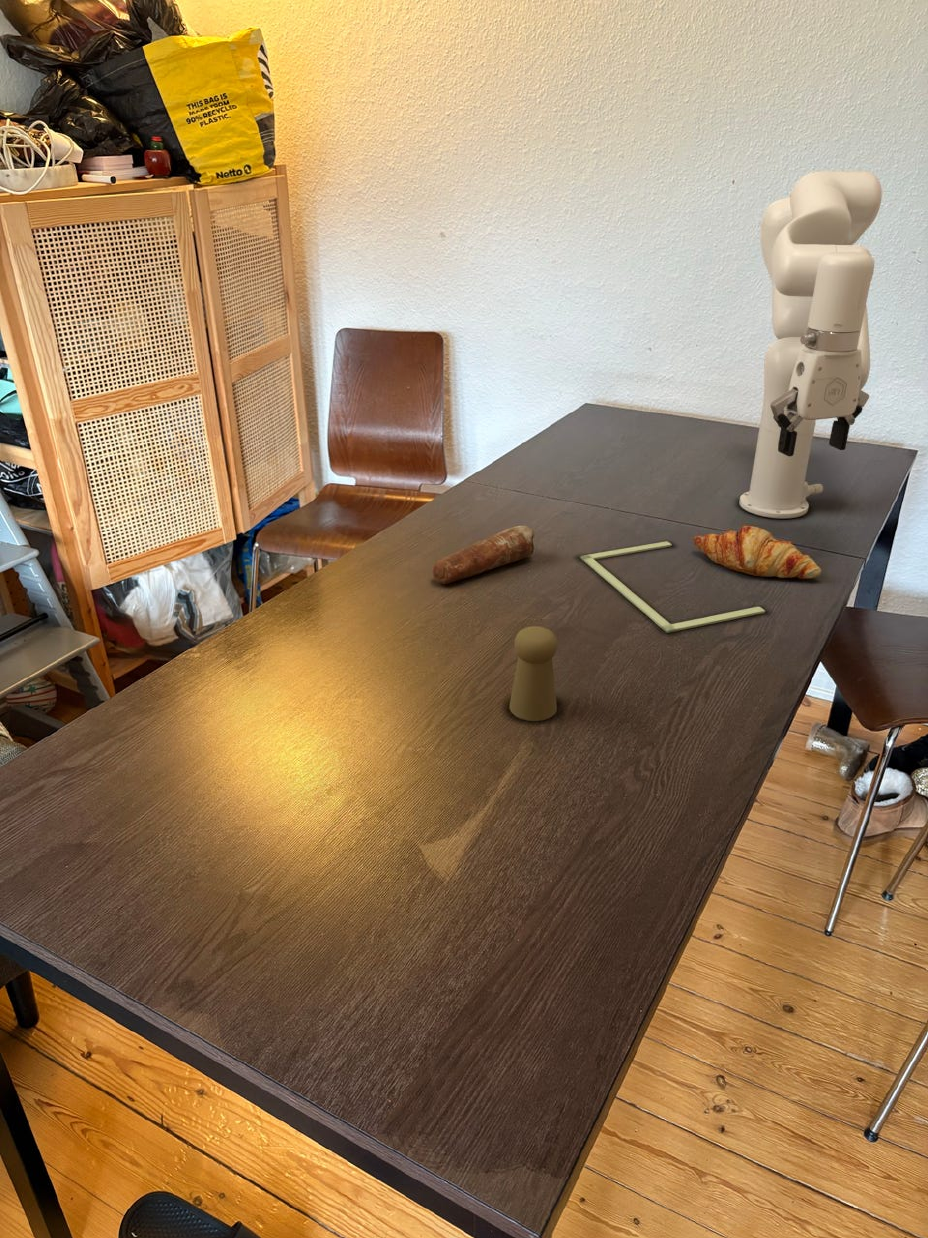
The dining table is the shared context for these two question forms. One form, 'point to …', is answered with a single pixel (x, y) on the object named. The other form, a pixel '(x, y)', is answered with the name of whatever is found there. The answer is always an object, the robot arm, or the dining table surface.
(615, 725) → the dining table surface
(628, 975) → the dining table surface
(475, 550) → the bread
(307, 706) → the dining table surface
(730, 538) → the croissant
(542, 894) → the dining table surface
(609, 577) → the frame
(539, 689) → the tan game pawn
